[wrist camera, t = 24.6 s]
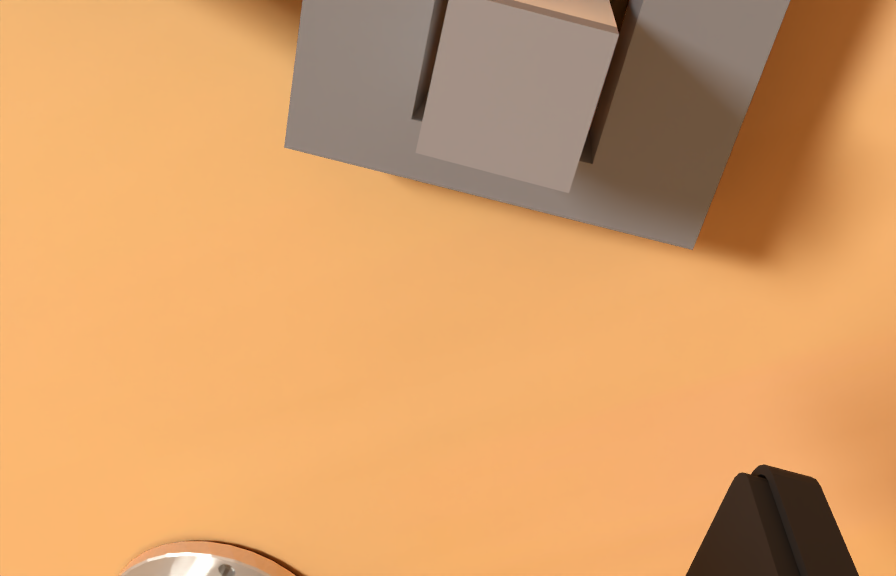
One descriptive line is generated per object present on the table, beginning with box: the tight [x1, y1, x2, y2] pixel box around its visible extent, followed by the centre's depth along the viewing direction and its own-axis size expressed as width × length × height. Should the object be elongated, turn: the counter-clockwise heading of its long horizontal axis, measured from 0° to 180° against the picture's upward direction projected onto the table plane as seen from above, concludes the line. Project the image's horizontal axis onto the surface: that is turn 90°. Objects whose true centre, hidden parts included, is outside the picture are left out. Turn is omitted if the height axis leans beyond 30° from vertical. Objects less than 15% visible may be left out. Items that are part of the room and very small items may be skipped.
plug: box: [416, 0, 619, 193], centre depth 24 cm, size 4×4×10 cm
